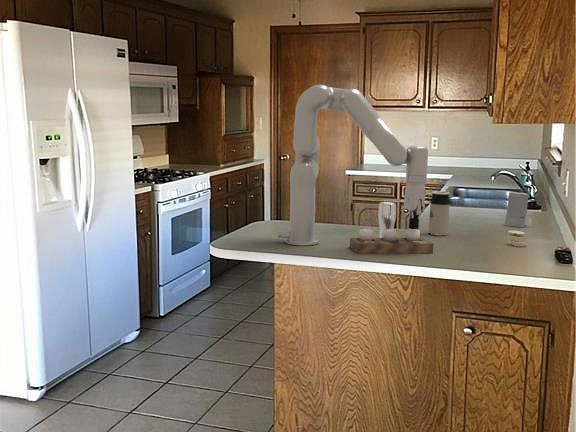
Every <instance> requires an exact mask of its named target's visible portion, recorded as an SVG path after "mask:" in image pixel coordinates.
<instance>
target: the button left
mask: <svg viewBox="0 0 576 432" xmlns="http://www.w3.org/2000/svg"><path fill="white" fill-rule="evenodd" d="M358 234H359V236H358V238H359V241H373V238H374V230H373V229H369V228H363V229H359V233H358Z"/></svg>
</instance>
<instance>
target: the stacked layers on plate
mask: <svg viewBox="0 0 576 432" xmlns="http://www.w3.org/2000/svg"><path fill="white" fill-rule="evenodd" d="M507 233H508V234H507V239H506V241H507V245H508V244H513V245H516V246H522V247H525V243H526V241H525V240H526V239H525V238H526V237H527V236H525V235H523V234H526V232H524V231H520V230H508V231H507ZM516 246H515V247H516Z"/></svg>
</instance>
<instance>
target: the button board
mask: <svg viewBox="0 0 576 432" xmlns="http://www.w3.org/2000/svg"><path fill="white" fill-rule="evenodd" d="M349 248H350V249H352V250H353V251H354V252H356V253H357V254H365V255H367V254H369V255H370V254H376V255H377V254H433V253H434V243H432V242H431V241H429V240H428V239H425V238H423V237H420V241H407V240H406V237H396V241H383V238H379V237H373V241H359V237H350V238H349Z"/></svg>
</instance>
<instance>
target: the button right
mask: <svg viewBox="0 0 576 432" xmlns="http://www.w3.org/2000/svg"><path fill="white" fill-rule="evenodd" d="M405 233H406V235H405V238H406V240H407V241H420V238H421V230H420V229H410V228H409V229H406V232H405Z"/></svg>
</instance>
